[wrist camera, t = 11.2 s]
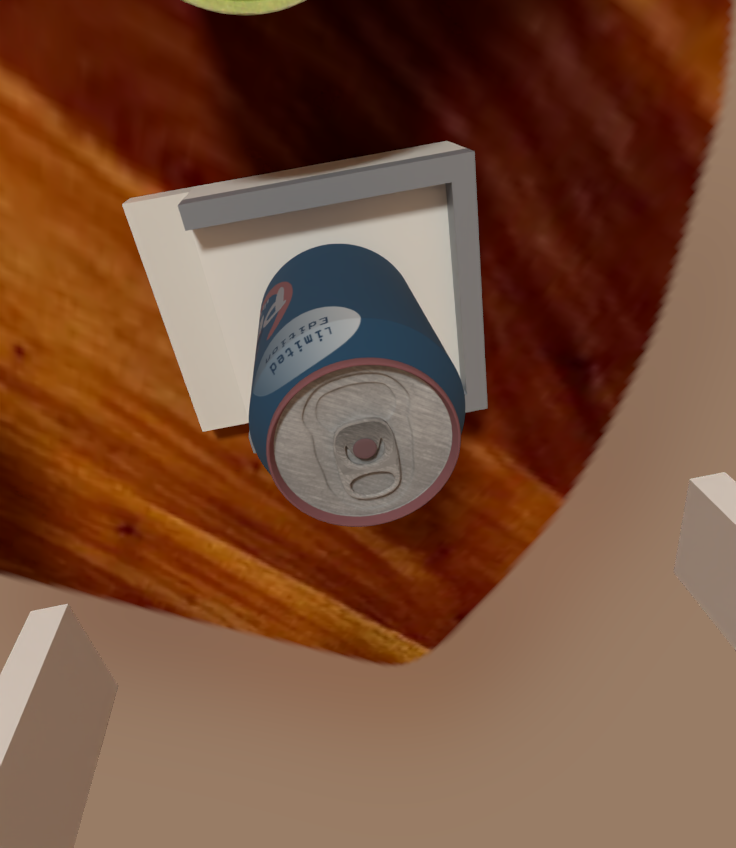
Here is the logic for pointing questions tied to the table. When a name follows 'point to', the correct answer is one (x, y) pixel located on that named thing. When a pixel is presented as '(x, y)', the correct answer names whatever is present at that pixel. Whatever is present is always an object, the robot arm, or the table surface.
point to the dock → (297, 232)
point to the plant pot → (244, 6)
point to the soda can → (352, 390)
